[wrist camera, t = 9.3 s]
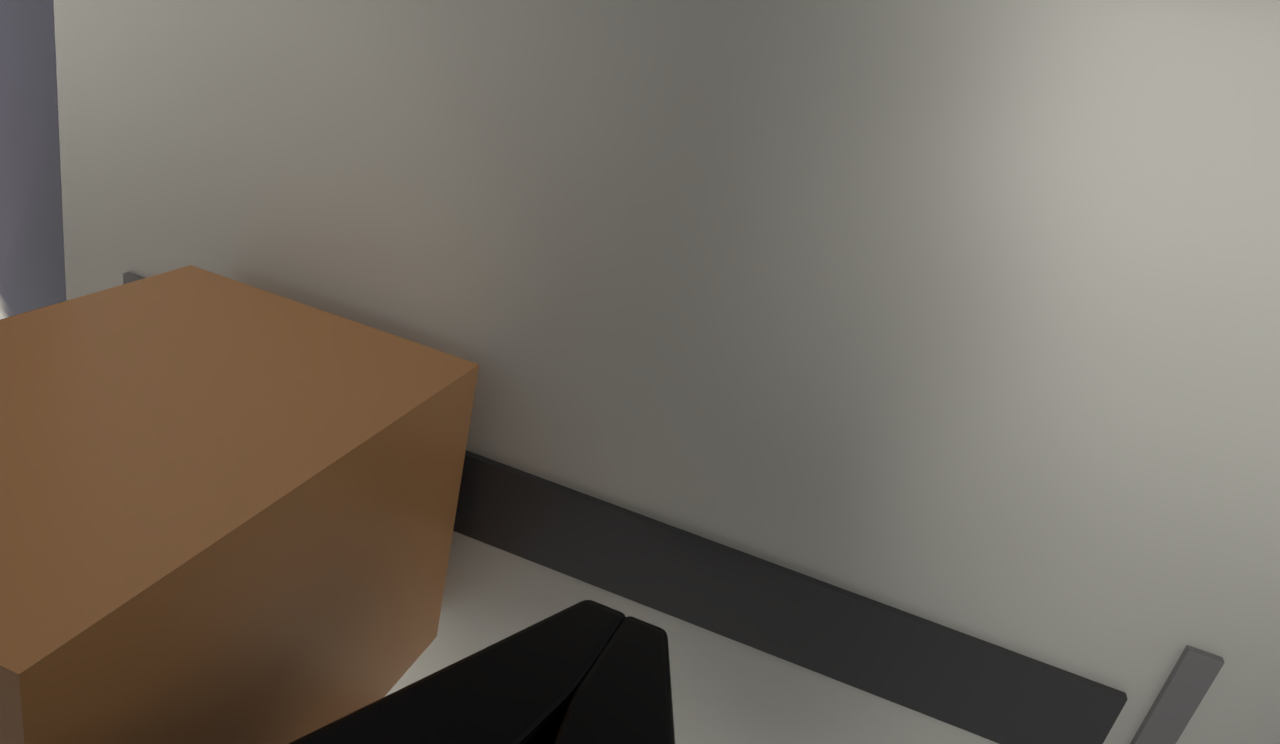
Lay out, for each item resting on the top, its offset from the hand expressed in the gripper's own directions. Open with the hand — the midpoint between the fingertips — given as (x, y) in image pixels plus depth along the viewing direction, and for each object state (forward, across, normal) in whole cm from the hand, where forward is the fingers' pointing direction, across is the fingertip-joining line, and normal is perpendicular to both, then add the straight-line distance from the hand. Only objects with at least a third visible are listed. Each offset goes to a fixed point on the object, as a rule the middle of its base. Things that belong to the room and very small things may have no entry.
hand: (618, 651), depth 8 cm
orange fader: (+1, +4, 0) cm, 4 cm away
